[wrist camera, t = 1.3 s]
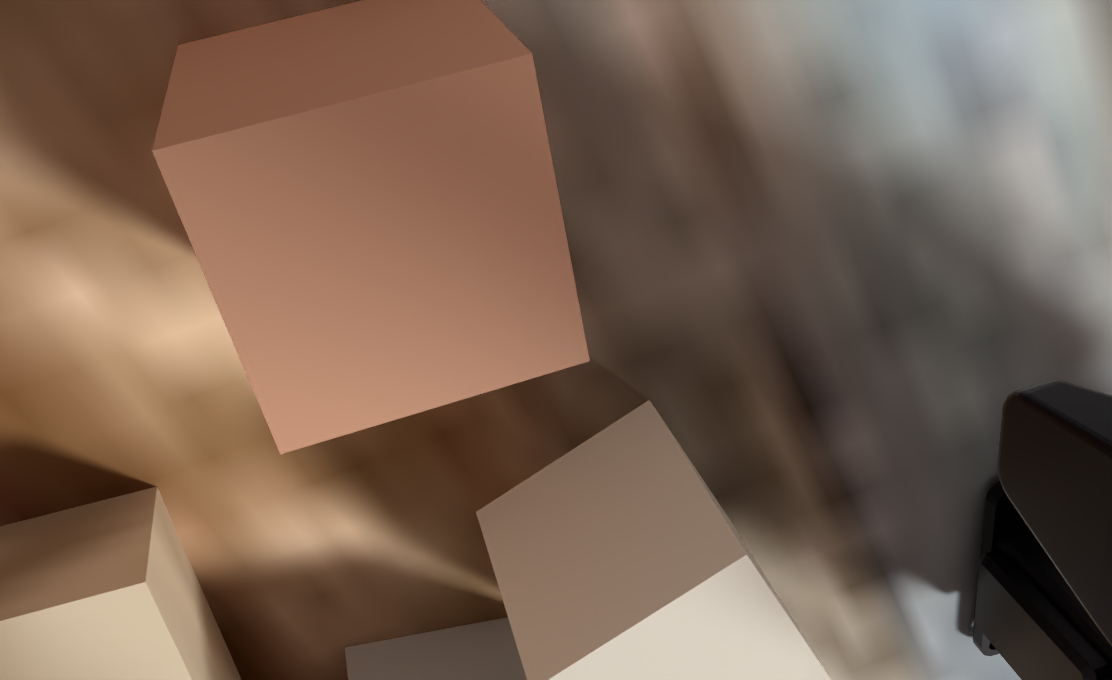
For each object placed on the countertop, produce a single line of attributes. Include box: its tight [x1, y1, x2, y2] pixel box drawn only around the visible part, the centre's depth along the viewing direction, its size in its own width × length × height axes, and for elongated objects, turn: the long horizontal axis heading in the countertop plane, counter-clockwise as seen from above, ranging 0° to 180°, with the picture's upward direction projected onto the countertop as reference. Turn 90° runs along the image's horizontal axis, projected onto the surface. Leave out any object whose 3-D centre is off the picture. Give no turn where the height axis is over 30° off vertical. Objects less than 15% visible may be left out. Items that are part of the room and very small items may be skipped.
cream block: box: [476, 400, 831, 680], centre depth 20 cm, size 4×4×5 cm
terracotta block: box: [152, 0, 590, 454], centre depth 15 cm, size 4×4×5 cm
